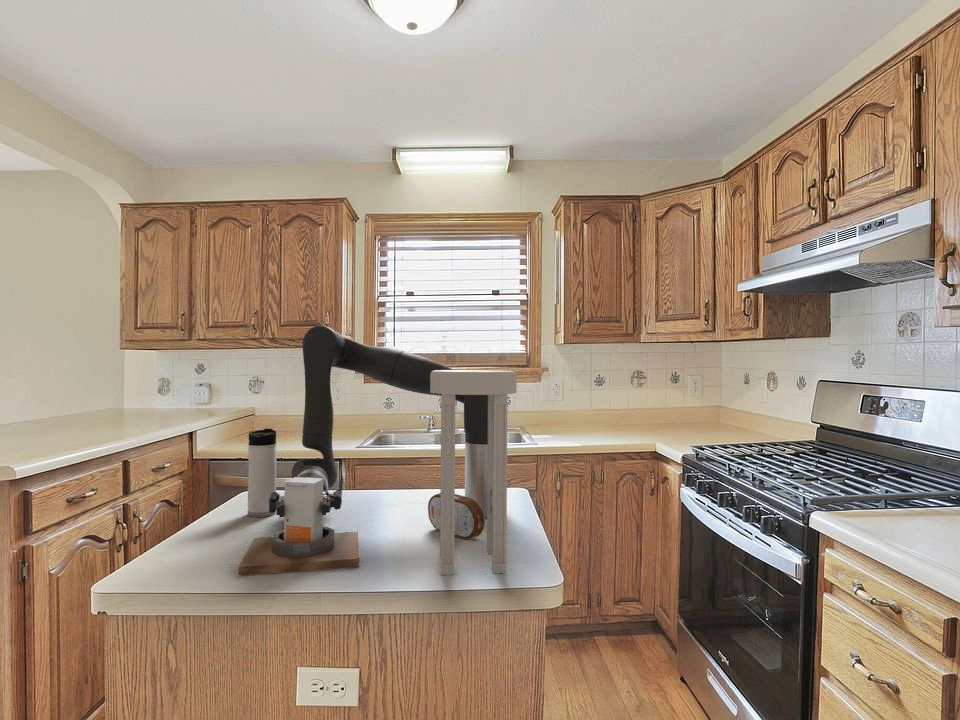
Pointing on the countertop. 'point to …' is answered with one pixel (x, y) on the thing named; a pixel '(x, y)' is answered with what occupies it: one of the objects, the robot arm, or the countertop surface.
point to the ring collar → (303, 545)
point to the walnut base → (267, 562)
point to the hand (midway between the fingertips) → (303, 510)
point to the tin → (459, 516)
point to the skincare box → (303, 509)
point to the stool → (497, 391)
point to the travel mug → (261, 471)
